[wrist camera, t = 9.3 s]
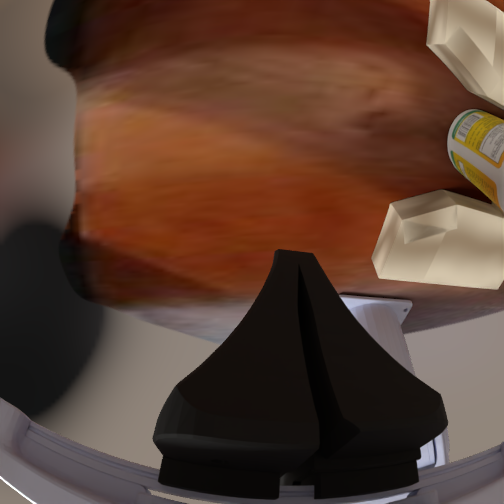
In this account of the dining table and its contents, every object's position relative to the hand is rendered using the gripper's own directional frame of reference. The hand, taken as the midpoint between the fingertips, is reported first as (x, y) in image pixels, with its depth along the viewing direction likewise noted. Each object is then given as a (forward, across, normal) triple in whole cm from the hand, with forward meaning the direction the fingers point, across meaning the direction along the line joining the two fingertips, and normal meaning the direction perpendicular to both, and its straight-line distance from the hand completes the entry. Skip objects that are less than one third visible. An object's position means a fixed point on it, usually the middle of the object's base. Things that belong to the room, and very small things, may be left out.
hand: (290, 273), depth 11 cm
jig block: (+10, -15, -5) cm, 19 cm away
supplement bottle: (+11, -14, -5) cm, 18 cm away
